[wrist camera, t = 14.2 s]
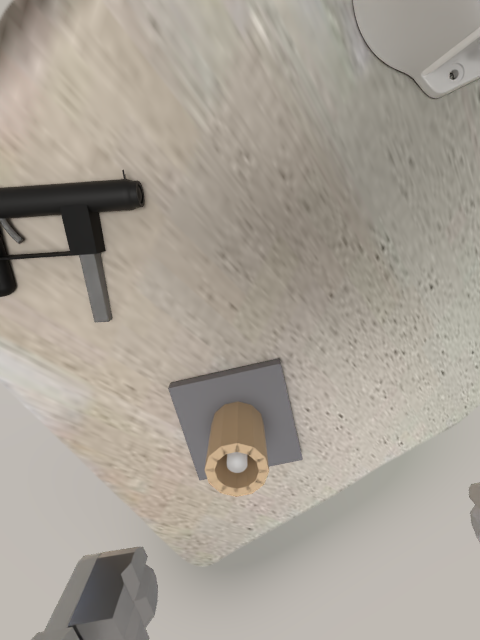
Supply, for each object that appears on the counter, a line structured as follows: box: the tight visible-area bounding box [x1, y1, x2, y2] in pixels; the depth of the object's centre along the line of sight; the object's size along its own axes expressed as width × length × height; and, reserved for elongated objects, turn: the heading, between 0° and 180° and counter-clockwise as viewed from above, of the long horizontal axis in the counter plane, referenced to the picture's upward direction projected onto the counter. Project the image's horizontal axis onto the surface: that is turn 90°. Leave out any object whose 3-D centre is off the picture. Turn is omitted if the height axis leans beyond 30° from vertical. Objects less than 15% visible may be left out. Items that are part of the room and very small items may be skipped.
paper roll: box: [205, 402, 269, 497], centre depth 37 cm, size 6×6×8 cm
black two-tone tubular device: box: [0, 170, 144, 322], centre depth 36 cm, size 3×20×16 cm
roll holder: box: [168, 359, 303, 480], centre depth 39 cm, size 14×14×8 cm
